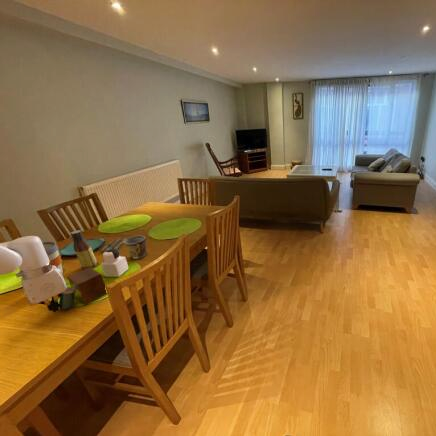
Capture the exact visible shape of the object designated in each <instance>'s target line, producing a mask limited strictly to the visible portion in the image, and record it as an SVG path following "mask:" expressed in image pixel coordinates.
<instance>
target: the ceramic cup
mask: <svg viewBox="0 0 436 436" xmlns="http://www.w3.org/2000/svg"><path fill="white" fill-rule="evenodd" d="M146 240H147V239H146V236H144V235H134V236H130V237H128V238H126V240H125V241H124V242H123V244H124V246H125V248H126V249H127V251H128V253H129V254H130V256H131V258H132V259H134V260H138V259H142V258H144V257H145V256H146V255H147V241H146Z"/></svg>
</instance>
